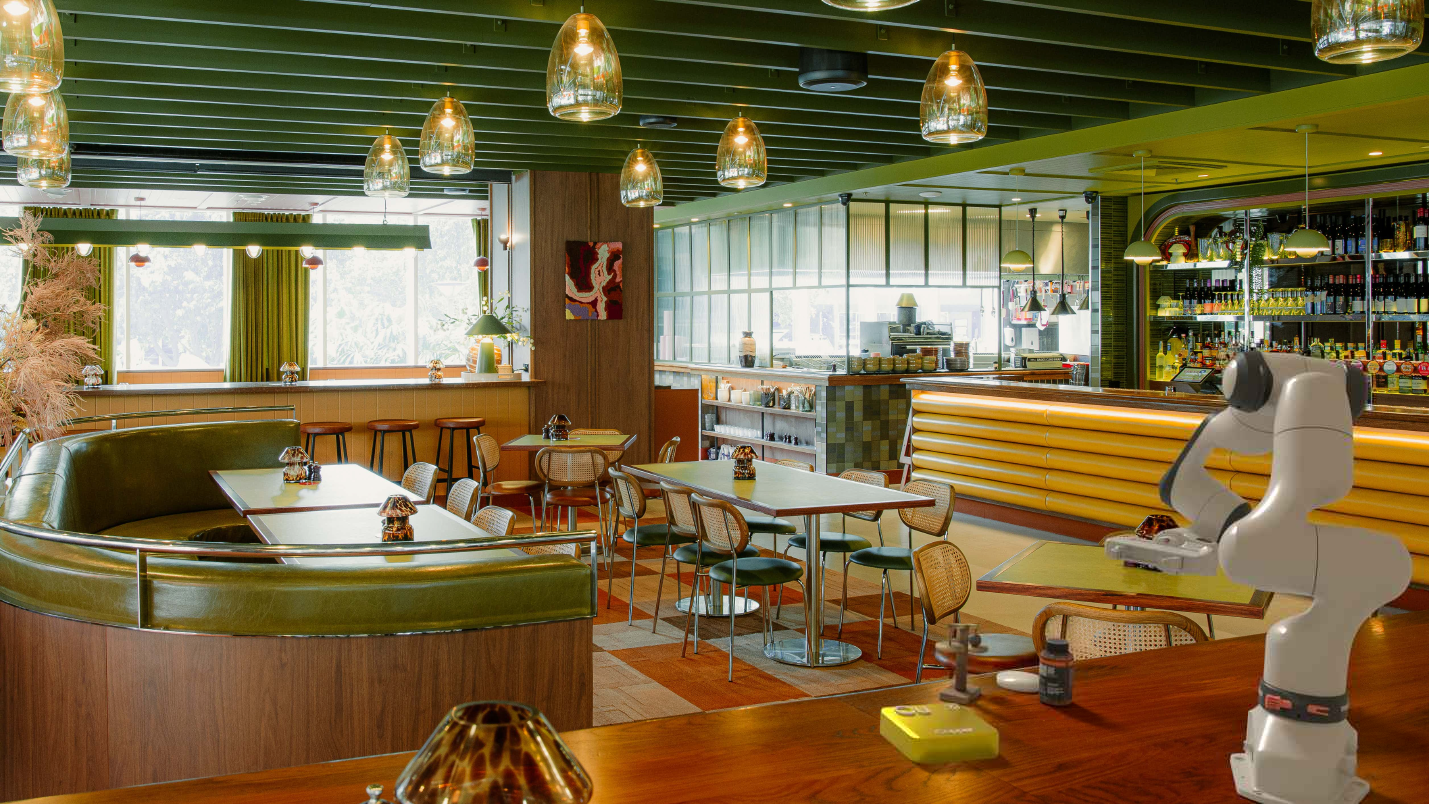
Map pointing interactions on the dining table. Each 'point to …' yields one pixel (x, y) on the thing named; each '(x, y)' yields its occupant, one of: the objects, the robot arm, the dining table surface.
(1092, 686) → the dining table surface
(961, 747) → the element tile
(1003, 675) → the dish
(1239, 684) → the dining table surface
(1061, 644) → the supplement bottle
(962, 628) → the balance
